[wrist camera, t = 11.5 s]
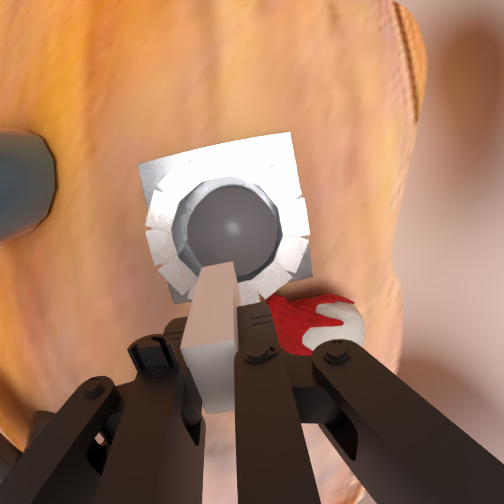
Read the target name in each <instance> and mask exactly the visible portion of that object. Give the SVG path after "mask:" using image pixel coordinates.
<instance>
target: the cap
mask: <svg viewBox="0 0 504 504" xmlns="http://www.w3.org/2000/svg"><path fill="white" fill-rule="evenodd" d="M187 238H188V243H189V247H190V249H191V251H192V253H193V255H194V256H195V258H196V259H197V260H198V262H199V263H200V264H201V265H203V266H204V267H206V266H211V265H216V264H221V263H226V262H231V261H233V264H234V269H235V273H236V276H240V275H244V274H248V273H250V272H252V271H254V270H256V269H258V268H259V267H260V266H262V265H263V264H264V263H265V262H266V261H267V259H268V258H269V257H270V255H271V254H272V252H273V250H274V247H275V244H276V240H277V224H276V220H275V217H274V214H273V213H272V211H271V209H270V208H269V206H268V205H267V204H266V203H265V201H264V200H263V199H262V198H261V197H260V196H259V195H258V194H257V193H256V192H255V191H253V190H252V189H250V188H248V187H245V186H242V185H237V184H228V185H223V186H219V187H217V188H215V189H213V190H212V191H210V192H209V193H208V194H207V195H206V196H205V197H204V198H203V199H202V200H201V201H200V202H199V203H198V204H197V205H196V207H195V208H194V210H193V211H192V213H191V215H190V218H189V221H188V226H187Z"/></svg>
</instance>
